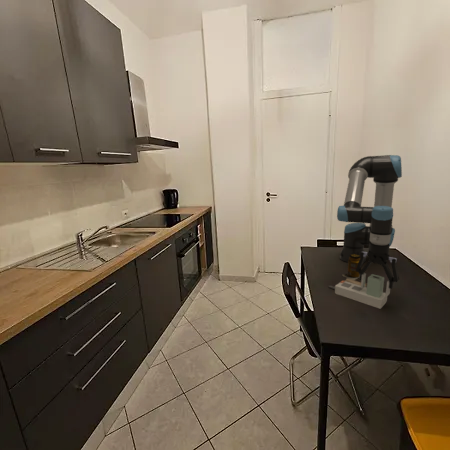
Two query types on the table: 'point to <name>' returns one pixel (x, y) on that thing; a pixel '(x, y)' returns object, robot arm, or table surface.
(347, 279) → the cork coaster
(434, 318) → the table surface
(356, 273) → the condiment
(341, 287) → the power strip
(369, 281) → the block
